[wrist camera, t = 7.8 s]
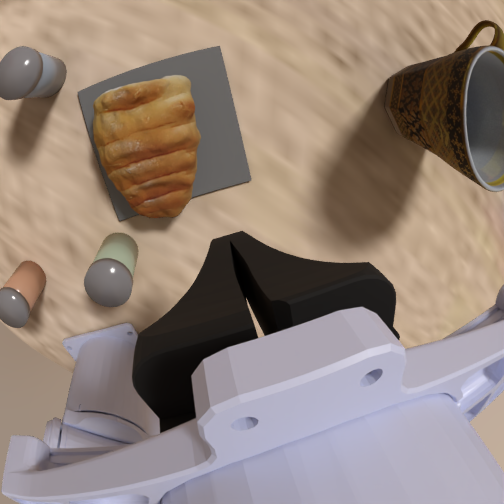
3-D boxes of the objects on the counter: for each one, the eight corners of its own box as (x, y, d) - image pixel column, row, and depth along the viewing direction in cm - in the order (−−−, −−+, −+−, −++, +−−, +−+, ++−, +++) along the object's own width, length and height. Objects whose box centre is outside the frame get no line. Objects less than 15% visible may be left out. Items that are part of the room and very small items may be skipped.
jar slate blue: (71, 86, 15) (41, 83, 11) (34, 106, 15) (-1, 109, 11) (63, 48, 14) (33, 36, 9) (26, 68, 13) (-9, 64, 9)
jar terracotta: (53, 286, 22) (34, 323, 17) (28, 295, 21) (8, 331, 17) (36, 255, 20) (11, 288, 16) (11, 265, 20) (-14, 298, 15)
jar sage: (145, 262, 23) (139, 300, 18) (110, 273, 22) (98, 311, 18) (130, 225, 21) (119, 257, 17) (94, 238, 21) (75, 272, 16)
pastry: (212, 199, 21) (218, 218, 18) (123, 221, 21) (113, 244, 17) (188, 70, 17) (188, 62, 13) (91, 97, 16) (72, 96, 13)
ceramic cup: (436, 167, 24) (516, 203, 16) (356, 143, 22) (448, 175, 13) (455, 49, 19) (536, 55, 10) (378, 3, 16) (467, -20, 8)
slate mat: (250, 179, 21) (251, 180, 21) (120, 220, 21) (119, 221, 20) (219, 46, 17) (219, 45, 16) (78, 92, 16) (77, 92, 15)
